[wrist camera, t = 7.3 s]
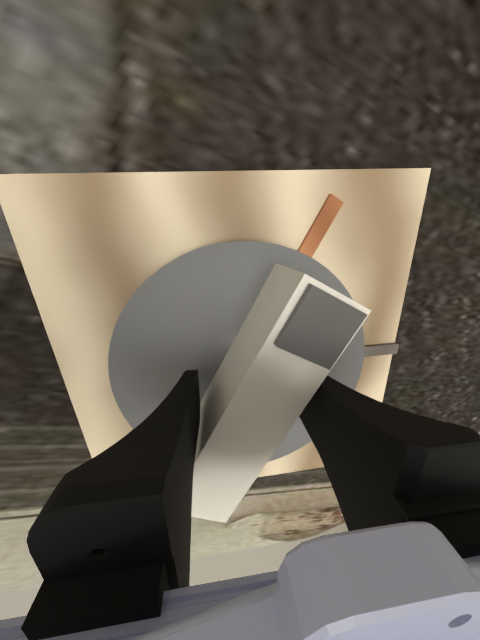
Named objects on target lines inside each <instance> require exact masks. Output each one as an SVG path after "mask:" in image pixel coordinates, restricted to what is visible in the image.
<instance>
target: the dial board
mask: <svg viewBox="0 0 480 640" xmlns="http://www.w3.org/2000/svg"><path fill="white" fill-rule="evenodd" d="M430 171H431V168H409V169H338V170H267V171H196V172H125V173H54V174H0V204H1V207H2V209H3V212H4V215H5V218H6V221H7V223H8V226H9V229H10V232H11V234H12V237H13V240H14V243H15V246H16V248H17V251H18V254H19V257H20V260H21V262H22V265H23V268H24V271H25V273H26V276H27V279H28V282H29V285H30V287H31V290H32V293H33V296H34V298H35V301H36V304H37V307H38V310H39V312H40V315H41V318H42V321H43V324H44V326H45V329H46V332H47V335H48V337H49V340H50V343H51V346H52V349H53V351H54V354H55V357H56V360H57V363H58V365H59V368H60V371H61V374H62V376H63V379H64V382H65V385H66V388H67V390H68V393H69V396H70V399H71V402H72V404H73V407H74V410H75V413H76V415H77V418H78V421H79V424H80V427H81V429H82V432H83V435H84V438H85V440H86V443H87V446H88V449H89V452H90V454H91V457H92V458H94V457H95V456H97V455H99V454H100V453H102V452H103V451H105V450H106V449H108V448H109V447H111V446H112V445H113V444H115V443H116V442H118V441H119V440H120V439H122V438H123V437H124V436H126V435H127V434H128V433H129V432H131V431H132V430H133V428H132V427H131V426H130V424H129V423H128V422H127V420H126V419H125V418H124V416H123V414H122V413H121V411H120V409H119V407H118V405H117V403H116V401H115V398H114V395H113V392H112V390H111V385H110V380H109V374H108V354H109V346H110V341H111V337H112V334H113V330H114V327H115V324H116V322H117V320H118V318H119V316H120V314H121V312H122V310H123V308H124V307H125V305H126V304H127V302H128V301H129V299H130V298H131V296H132V295H133V294H134V292H135V291H136V290H137V289H138V288H139V287H140V286H141V285H142V284H143V283H144V282H145V281H146V279H148V278H149V277H150V276H151V275H153V274H154V273H155V272H156V271H158V270H159V269H160V268H161V267H163V266H164V265H166V264H168V263H169V262H171V261H173V260H174V259H176V258H178V257H180V256H181V255H183V254H186V253H188V252H190V251H193V250H195V249H198V248H200V247H204V246H208V245H212V244H216V243H221V242H230V241H260V242H266V243H272V244H278V245H281V246H285V247H288V248H291V249H294V250H297V251H299V252H301V253H303V254H305V255H307V256H309V257H311V258H313V259H315V260H316V261H317V262H319V263H320V264H322V265H323V266H325V267H326V268H327V269H328V270H329V271H331V272H332V273H333V274H334V275H335V276H336V277H337V278H338V279H339V280H340V282H341V283H342V284H343V285H344V287H345V288H346V289H347V291H348V292H349V294H350V296H351V297H352V299H353V301H355V302H357V303H359V304H360V305H362V306H364V307H366V308H368V309H369V310H371V313H370V314H369V315H368V317H367V318H366V320H365V321H364V323H363V324H362V327H363V332H364V346H365V349H364V360H363V365H362V370H361V374H360V377H359V380H358V383H357V386H356V388H355V391H357V392H359V393H361V394H363V395H366V396H368V397H370V398H372V399H375V400H377V401H380V402H382V401H383V396H384V391H385V387H386V382H387V377H388V372H389V368H390V363H391V358H392V354H397V351H398V346H399V344H398V343H397V342H395V339H396V334H397V329H398V324H399V320H400V315H401V310H402V305H403V300H404V296H405V291H406V286H407V281H408V276H409V272H410V267H411V262H412V257H413V252H414V248H415V243H416V238H417V233H418V229H419V224H420V219H421V214H422V209H423V205H424V200H425V195H426V190H427V185H428V181H429V176H430ZM320 467H324V465H323V462H322V460H321V458H320V455H319V453H318V451H317V449H316V447H315V446H314V444H313V442H312V441H311V442H309V443H308V444H306V445H305V446H303V447H302V448H300V449H298V450H296V451H294V452H292V453H290V454H288V455H286V456H283V457H281V458H279V459H276V460H273V461H270V462H267V463H266V465H265V466H264V468H263V469H262V471H261V472H260V473H259V475H258V476H257V477H263V476H269V475H276V474H282V473H288V472H295V471H301V470H307V469H314V468H320Z"/></svg>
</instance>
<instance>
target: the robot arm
mask: <svg viewBox="0 0 480 640" xmlns="http://www.w3.org/2000/svg"><path fill="white" fill-rule="evenodd" d="M299 417H300V419H301V421H302V423H303V425H304V427H305V429H306V430H307V432H308V434H309V436H310V438H311V440H312V442H313V444H314V446H315V447H316V449H317V451H318V453H319V455H320V458H321V460H322V462H323V465H324V467H325V469H326V472H327V474H328V477H329V479H330V482H331V484H332V487H333V490H334V492H335V495H336V497H337V500H338V503H339V505H340V508H341V511H342V514H343V516H344V519H345V522H346V525H347V528H348V530H349V531H348V532H342V533H336V534H330V535H324V536H320V537H317V538H313V539H310V540H307V541H304V542H302V543H300V544H299V545H298V546H296V547H295V548H294V549H292V550H291V551H289V552H288V553H287V554H286V556H285V558H284V560H283V562H282V564H281V566H280V568H279V570H278V571H274V572H268V573H262V574H257V575H251V576H246V577H241V578H234V579H229V580H223V581H218V582H212V583H207V584H201V585H195V586H190V587H189V572H190V540H191V512H192V488H193V471H194V462H195V454H196V447H197V440H198V432H199V424H200V391H199V377H198V369H197V370H186V371H185V372H184V373H183V374H182V376H181V377H180V379H179V380H178V382H177V383H176V385H175V386H174V387H173V389H172V390H171V391H170V393H169V394H168V395H167V396H166V398H165V399H164V400H163V401H162V402H161V403H160V404H159V406H158V407H157V408H156V409H155V410H154V411H153V412H152V413H151V414H150V415H149V416H148V417H147V418H146V419H145V420H144V421H143V422H142V423H140V424H139V425H138V426H137V427H136V428H134V429H133V430H132V431H131V432H129V433H128V434H127V435H126V436H124V437H123V438H122V439H120V440H119V441H118V442H116V443H115V444H113V445H112V446H111V447H109V448H108V449H106V450H105V451H103V452H102V453H100V454H99V455H97V456H95V457H94V458H92V459H90V460H89V461H87V462H85V463H84V464H82V465H80V466H79V467H77V468H75V469H74V470H72V471H70V472H68V473H66V474H65V475H64V477H63V478H62V480H61V481H60V482H59V484H58V485H57V487H56V488H55V489H54V491H53V493H52V494H51V496H50V497H49V499H48V501H47V502H46V504H45V506H44V507H43V509H42V510H41V512H40V514H39V515H38V517H37V519H36V520H35V522H34V524H33V525H32V527H31V528H30V530H29V532H28V537H27V544H28V548H29V551H30V554H31V556H32V558H33V560H34V562H35V563H36V565H37V567H38V569H39V571H40V573H41V575H42V577H43V579H44V581H43V583H42V585H41V587H40V589H39V591H38V593H37V596H36V598H35V600H34V602H33V604H32V606H31V608H30V610H29V612H28V614H27V616H22V617H16V618H11V619H5V620H0V640H480V435H479V434H478V433H477V432H475V431H474V430H473V429H471V428H468V427H464V426H460V425H455V424H451V423H447V422H443V421H438V420H434V419H431V418H427V417H424V416H420V415H417V414H413V413H410V412H407V411H404V410H401V409H398V408H396V407H393V406H390V405H387V404H385V403H382V402H380V401H377V400H375V399H372V398H370V397H368V396H366V395H363V394H361V393H359V392H357V391H355V390H353V389H351V388H349V387H347V386H345V385H344V384H342V383H340V382H338V381H336V380H335V379H333V378H331V377H329V376H328V375H327V376H326V378H325V379H324V381H323V382H322V384H321V385H320V386H319V388H318V389H317V391H316V392H315V394H314V395H313V397H312V398H311V400H310V401H309V402H308V404H307V405H306V407H305V408H304V410H303V411H302V413H301V414H300V415H299Z"/></svg>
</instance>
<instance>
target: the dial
mask: <svg viewBox="0 0 480 640" xmlns="http://www.w3.org/2000/svg"><path fill="white" fill-rule="evenodd" d="M370 313H371V310H369V309H368V308H366V307H364V306H362V305H360V304H359V303H357V302H355V301H353V299H352V297H351V296H350V294H349V292H348V291H347V289H346V288H345V287H344V285H343V284H342V283H341V282H340V280H339V279H338V278H337V277H336V276H335V275H334V274H333V273H332V272H331V271H329V270H328V269H327V268H326V267H325V266H323V265H322V264H320V263H319V262H317V261H316V260H315V259H313V258H311V257H309V256H307V255H305V254H303V253H301V252H299V251H297V250H294V249H291V248H288V247H285V246H281V245H278V244H272V243H266V242H260V241H230V242H221V243H216V244H212V245H208V246H204V247H200V248H198V249H195V250H193V251H190V252H188V253H186V254H183V255H181V256H180V257H178V258H176V259H174V260H173V261H171V262H169V263H168V264H166V265H164V266H163V267H161V268H160V269H159V270H158V271H156V272H155V273H154V274H153V275H151V276H150V277H149V278H148V279H146V281H145V282H144V283H143V284H142V285H141V286H140V287H139V288H138V289H137V290H136V291H135V292H134V294H133V295H132V296H131V298H130V299H129V301H128V302H127V304H126V305H125V307H124V308H123V310H122V312H121V314H120V316H119V318H118V320H117V322H116V324H115V327H114V330H113V334H112V337H111V341H110V346H109V354H108V374H109V380H110V385H111V390H112V392H113V395H114V398H115V401H116V403H117V405H118V407H119V409H120V411H121V413H122V414H123V416H124V418H125V419H126V420H127V422H128V423H129V424H130V426H131V427H132V428H133V429H134V428H136V427H137V426H138V425H139V424H140V423H142V422H143V421H144V420H145V419H146V418H147V417H148V416H149V415H150V414H151V413H152V412H153V411H154V410H155V409H156V408H157V407H158V406H159V404H160V403H161V402H162V401H163V400H164V399H165V398H166V396H167V395H168V394H169V393H170V391H171V390H172V389H173V387H174V386H175V385H176V383H177V382H178V380H179V379H180V377H181V376H182V374H183V373H184V372H185V371H186V370H197V369H198V377H199V391H200V424H199V432H198V440H197V447H196V454H195V462H194V471H193V488H192V512H191V517H197V518H202V519H208V520H213V521H219V522H224V523H226V521H227V520H228V518H229V517H230V516H231V514H232V513H233V511H234V510H235V508H236V507H237V505H238V504H239V502H240V501H241V500H242V498H243V497H244V495H245V494H246V492H247V491H248V489H249V488H250V487H251V485H252V484H253V482H254V481H255V479H256V478H257V476H258V475H259V473H260V472H261V471H262V469H263V468H264V466H265V465H266V463H267V462H270V461H273V460H276V459H279V458H281V457H283V456H286V455H288V454H290V453H292V452H294V451H296V450H298V449H300V448H302V447H303V446H305V445H306V444H308V443H309V442H311V441H312V440H311V438H310V436H309V434H308V432H307V430H306V429H305V427H304V425H303V423H302V421H301V419H300V417H299V415H300V414H301V413H302V411H303V410H304V408H305V407H306V405H307V404H308V402H309V401H310V400H311V398H312V397H313V395H314V394H315V392H316V391H317V389H318V388H319V386H320V385H321V384H322V382H323V381H324V379H325V378H326V376H327V375H328V376H329V377H331V378H333V379H335V380H336V381H338V382H340V383H342V384H344V385H345V386H347V387H349V388H351V389H353V390H355V388H356V386H357V383H358V380H359V377H360V374H361V370H362V365H363V360H364V349H365V346H364V332H363V327H362V324H363V323H364V321H365V320H366V318H367V317H368V315H369V314H370Z"/></svg>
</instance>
